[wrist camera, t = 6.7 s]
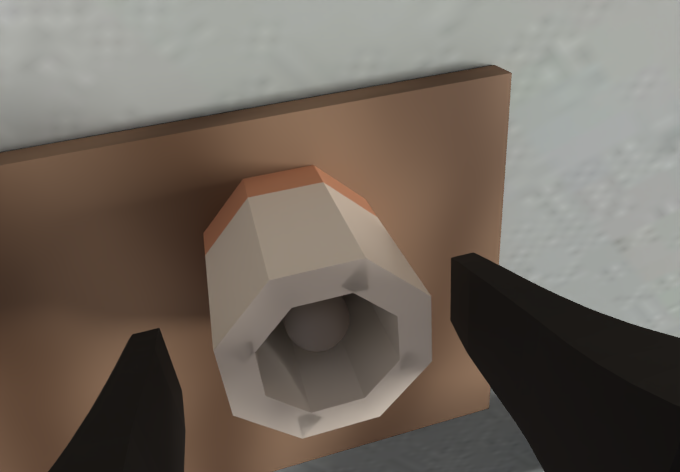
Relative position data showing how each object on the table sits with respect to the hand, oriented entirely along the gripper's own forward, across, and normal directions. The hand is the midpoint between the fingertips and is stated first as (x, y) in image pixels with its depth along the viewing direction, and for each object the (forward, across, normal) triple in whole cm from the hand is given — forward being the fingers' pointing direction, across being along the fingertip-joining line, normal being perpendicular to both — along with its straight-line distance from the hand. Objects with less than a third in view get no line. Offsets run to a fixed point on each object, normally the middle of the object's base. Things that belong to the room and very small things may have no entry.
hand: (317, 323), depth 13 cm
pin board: (+5, +3, +3) cm, 6 cm away
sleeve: (+4, 0, 0) cm, 4 cm away
